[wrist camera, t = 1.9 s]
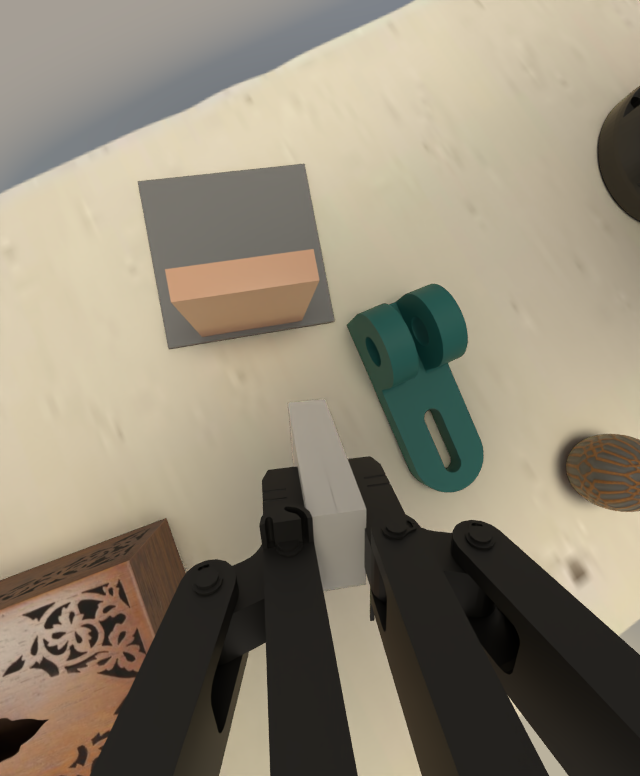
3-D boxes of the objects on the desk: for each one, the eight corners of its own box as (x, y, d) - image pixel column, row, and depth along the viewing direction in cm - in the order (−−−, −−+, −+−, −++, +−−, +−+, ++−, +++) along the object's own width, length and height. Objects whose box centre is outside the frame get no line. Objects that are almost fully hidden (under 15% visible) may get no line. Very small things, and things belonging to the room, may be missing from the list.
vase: (627, 462, 41) (723, 477, 33) (588, 515, 40) (676, 544, 32) (580, 417, 41) (666, 420, 32) (540, 469, 40) (616, 487, 31)
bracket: (346, 325, 38) (367, 304, 30) (408, 299, 39) (444, 272, 31) (421, 499, 38) (461, 522, 31) (481, 469, 39) (535, 484, 32)
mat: (303, 166, 38) (304, 163, 38) (333, 321, 38) (334, 320, 37) (139, 183, 36) (137, 181, 36) (169, 349, 36) (168, 348, 35)
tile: (297, 298, 37) (313, 246, 25) (301, 320, 37) (319, 280, 25) (197, 313, 36) (164, 266, 24) (202, 337, 36) (171, 302, 24)
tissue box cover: (166, 517, 35) (129, 560, 25) (221, 672, 35) (204, 776, 25) (-160, 639, 32) (-353, 746, 22) (-99, 814, 32) (-264, 1000, 22)
